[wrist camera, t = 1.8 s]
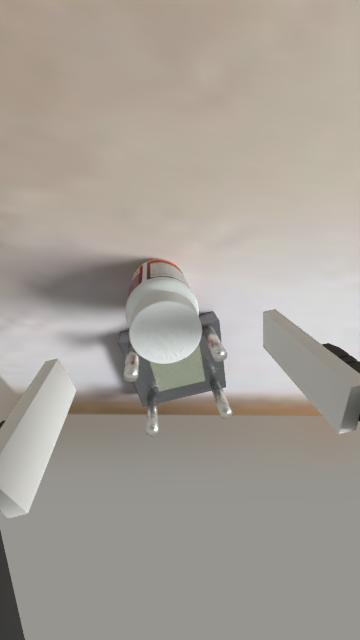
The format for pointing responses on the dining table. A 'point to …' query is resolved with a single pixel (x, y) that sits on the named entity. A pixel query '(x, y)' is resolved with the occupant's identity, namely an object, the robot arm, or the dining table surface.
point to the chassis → (179, 373)
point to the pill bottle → (162, 313)
